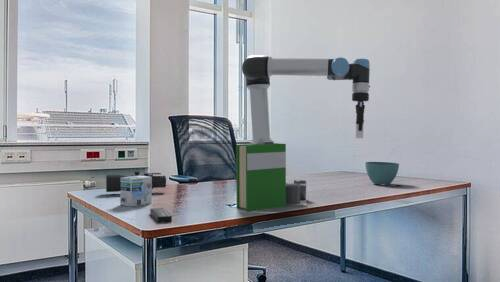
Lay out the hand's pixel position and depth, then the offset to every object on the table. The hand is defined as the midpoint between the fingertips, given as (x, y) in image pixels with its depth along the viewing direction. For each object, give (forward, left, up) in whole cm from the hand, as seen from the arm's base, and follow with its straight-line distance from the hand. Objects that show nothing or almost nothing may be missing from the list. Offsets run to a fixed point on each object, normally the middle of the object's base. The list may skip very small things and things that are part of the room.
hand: (359, 138), depth 190 cm
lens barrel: (-27, -22, -26) cm, 44 cm away
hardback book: (-41, -42, -27) cm, 65 cm away
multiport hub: (-72, -66, -27) cm, 102 cm away
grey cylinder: (-31, -30, -26) cm, 51 cm away
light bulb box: (-90, -44, -27) cm, 104 cm away
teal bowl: (+19, +43, -27) cm, 54 cm away
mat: (-30, -27, -27) cm, 48 cm away
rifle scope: (-101, -18, -27) cm, 106 cm away
